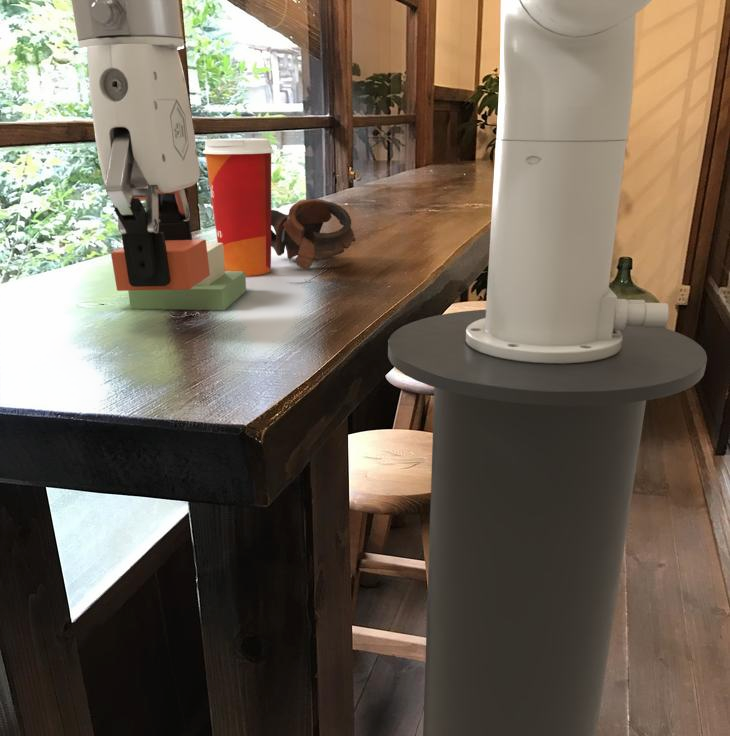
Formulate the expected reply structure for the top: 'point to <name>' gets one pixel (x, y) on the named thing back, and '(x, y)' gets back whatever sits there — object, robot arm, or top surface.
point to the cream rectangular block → (214, 263)
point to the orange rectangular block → (170, 266)
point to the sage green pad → (193, 295)
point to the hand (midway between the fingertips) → (164, 275)
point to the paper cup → (241, 201)
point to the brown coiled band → (310, 231)
